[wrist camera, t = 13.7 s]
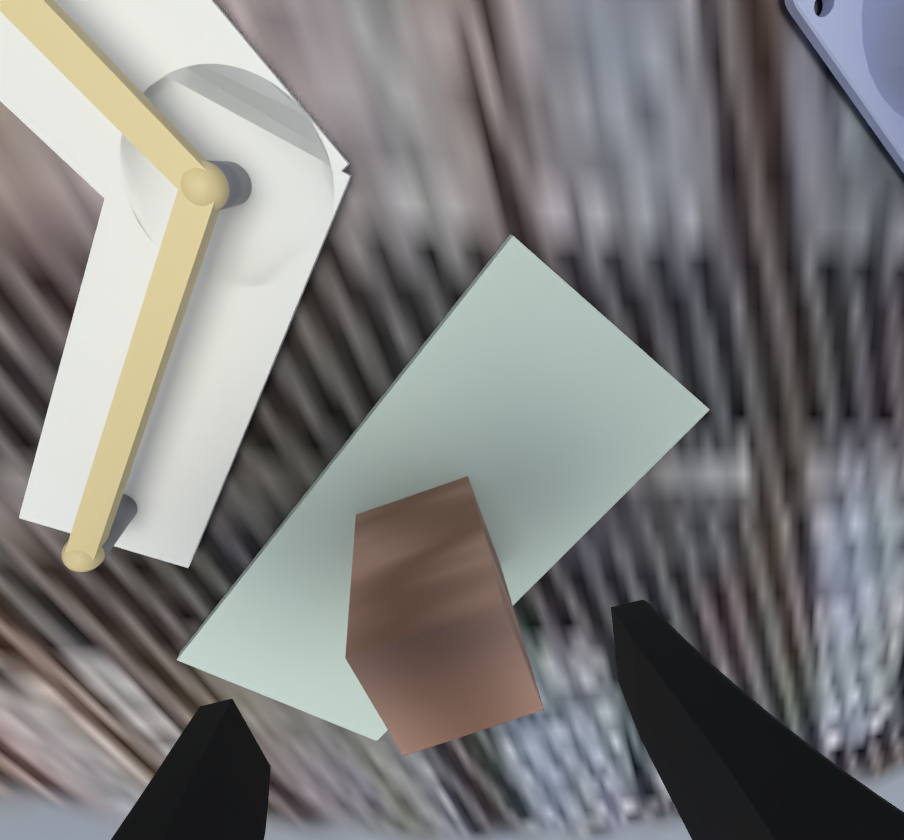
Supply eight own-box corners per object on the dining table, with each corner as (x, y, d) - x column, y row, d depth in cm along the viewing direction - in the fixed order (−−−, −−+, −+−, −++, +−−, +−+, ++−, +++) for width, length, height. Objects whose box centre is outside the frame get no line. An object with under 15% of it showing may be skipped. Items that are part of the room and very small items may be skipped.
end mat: (703, 405, 19) (709, 409, 18) (376, 732, 24) (376, 740, 23) (510, 234, 16) (513, 236, 15) (180, 651, 21) (176, 659, 20)
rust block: (467, 476, 18) (503, 604, 13) (500, 563, 20) (544, 709, 15) (355, 514, 19) (344, 657, 13) (397, 598, 20) (403, 755, 15)
